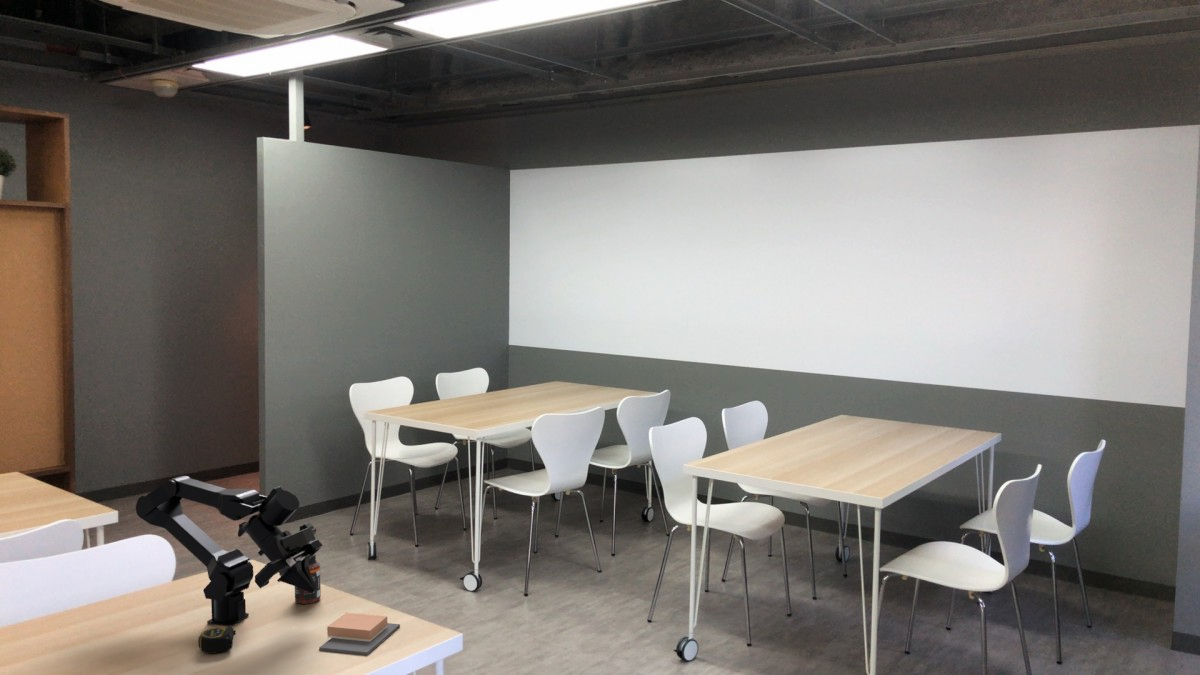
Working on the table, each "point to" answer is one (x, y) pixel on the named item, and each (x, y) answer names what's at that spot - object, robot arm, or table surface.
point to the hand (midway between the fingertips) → (314, 591)
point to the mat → (358, 643)
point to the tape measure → (216, 639)
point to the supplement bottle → (314, 568)
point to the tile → (357, 627)
